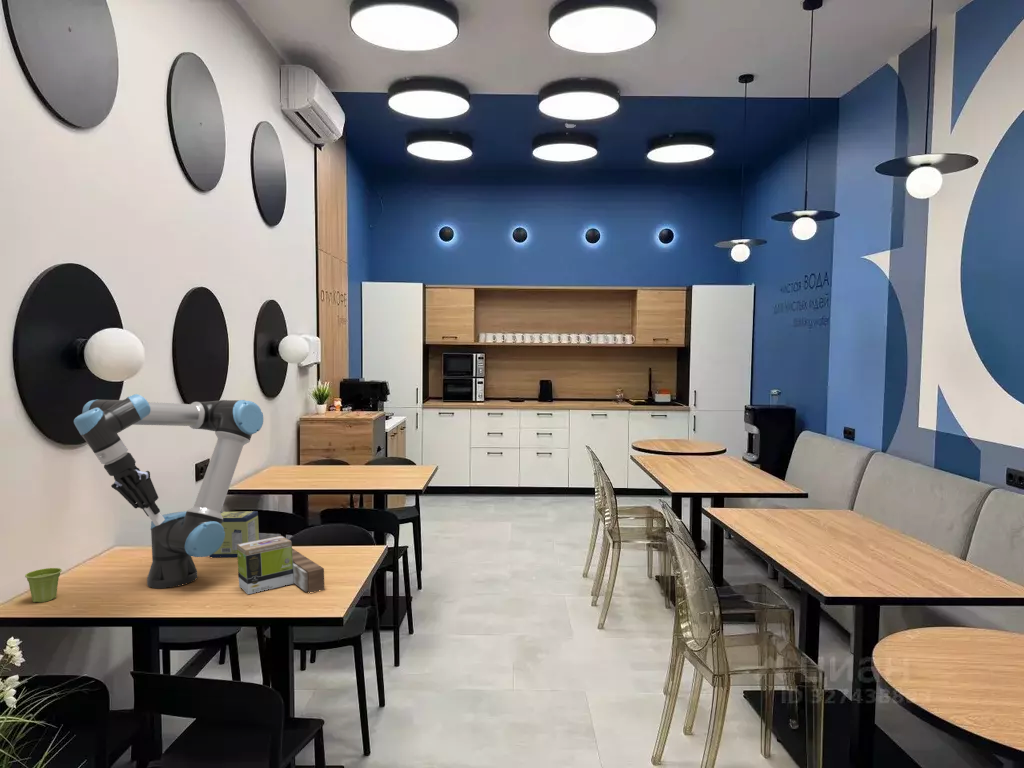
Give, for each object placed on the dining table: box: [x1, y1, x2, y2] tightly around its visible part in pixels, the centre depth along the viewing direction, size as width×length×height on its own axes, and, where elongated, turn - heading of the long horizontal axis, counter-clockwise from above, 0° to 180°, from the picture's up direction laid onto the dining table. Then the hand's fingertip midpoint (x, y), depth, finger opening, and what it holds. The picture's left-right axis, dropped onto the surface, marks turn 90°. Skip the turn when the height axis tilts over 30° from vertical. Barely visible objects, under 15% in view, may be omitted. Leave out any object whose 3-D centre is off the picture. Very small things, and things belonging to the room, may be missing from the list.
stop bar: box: [292, 548, 325, 594], centre depth 215 cm, size 30×6×7 cm, turn 38°
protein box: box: [208, 510, 260, 559], centre depth 248 cm, size 10×16×16 cm
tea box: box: [237, 535, 295, 595], centre depth 210 cm, size 15×10×15 cm, turn 128°
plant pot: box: [24, 567, 63, 603], centre depth 202 cm, size 9×9×9 cm
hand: (160, 522), depth 193 cm, fingers closed
